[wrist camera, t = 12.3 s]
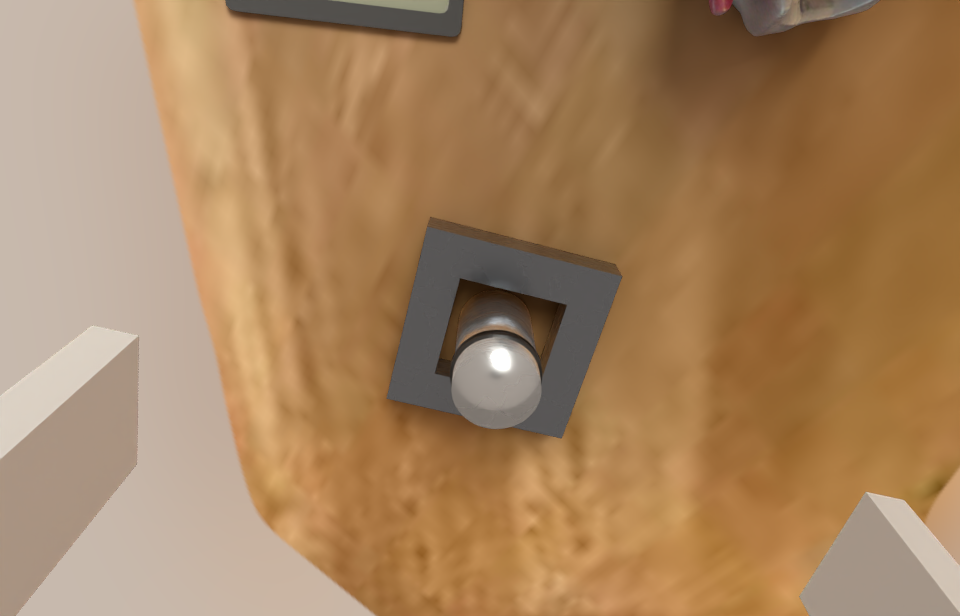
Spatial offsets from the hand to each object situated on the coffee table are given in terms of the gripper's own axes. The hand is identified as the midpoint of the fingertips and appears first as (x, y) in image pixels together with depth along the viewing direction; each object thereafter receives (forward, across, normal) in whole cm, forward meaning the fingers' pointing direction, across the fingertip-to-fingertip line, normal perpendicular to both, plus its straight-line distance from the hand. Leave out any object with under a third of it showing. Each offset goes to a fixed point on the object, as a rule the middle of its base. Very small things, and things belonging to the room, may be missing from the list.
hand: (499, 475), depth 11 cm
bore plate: (+25, +2, -9) cm, 27 cm away
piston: (+25, +2, -9) cm, 27 cm away
